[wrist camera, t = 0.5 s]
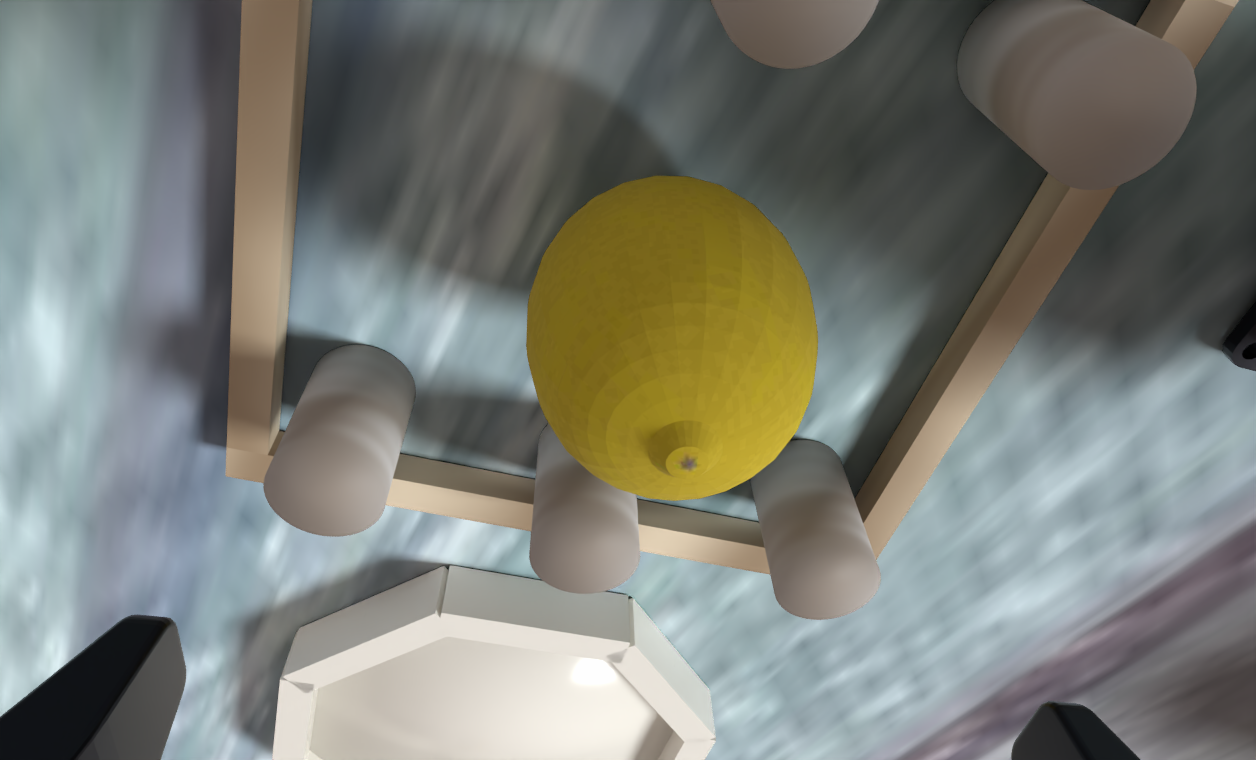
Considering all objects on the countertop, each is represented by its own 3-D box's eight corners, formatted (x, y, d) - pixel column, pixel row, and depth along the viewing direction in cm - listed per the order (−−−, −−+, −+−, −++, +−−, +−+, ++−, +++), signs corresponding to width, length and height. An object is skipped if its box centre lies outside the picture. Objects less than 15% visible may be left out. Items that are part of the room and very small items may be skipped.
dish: (752, 616, 28) (762, 663, 27) (631, 833, 36) (632, 879, 34) (306, 540, 25) (289, 588, 24) (278, 792, 33) (264, 840, 32)
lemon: (800, 298, 21) (891, 536, 15) (588, 364, 22) (586, 616, 16) (741, 82, 18) (824, 262, 12) (498, 170, 19) (447, 383, 13)
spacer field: (1237, -58, 17) (1392, -15, 14) (848, 564, 27) (883, 676, 23) (276, -411, 13) (175, -466, 10) (238, 451, 23) (180, 562, 20)
